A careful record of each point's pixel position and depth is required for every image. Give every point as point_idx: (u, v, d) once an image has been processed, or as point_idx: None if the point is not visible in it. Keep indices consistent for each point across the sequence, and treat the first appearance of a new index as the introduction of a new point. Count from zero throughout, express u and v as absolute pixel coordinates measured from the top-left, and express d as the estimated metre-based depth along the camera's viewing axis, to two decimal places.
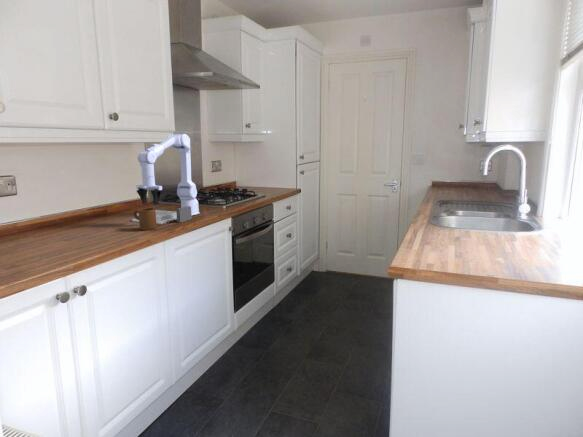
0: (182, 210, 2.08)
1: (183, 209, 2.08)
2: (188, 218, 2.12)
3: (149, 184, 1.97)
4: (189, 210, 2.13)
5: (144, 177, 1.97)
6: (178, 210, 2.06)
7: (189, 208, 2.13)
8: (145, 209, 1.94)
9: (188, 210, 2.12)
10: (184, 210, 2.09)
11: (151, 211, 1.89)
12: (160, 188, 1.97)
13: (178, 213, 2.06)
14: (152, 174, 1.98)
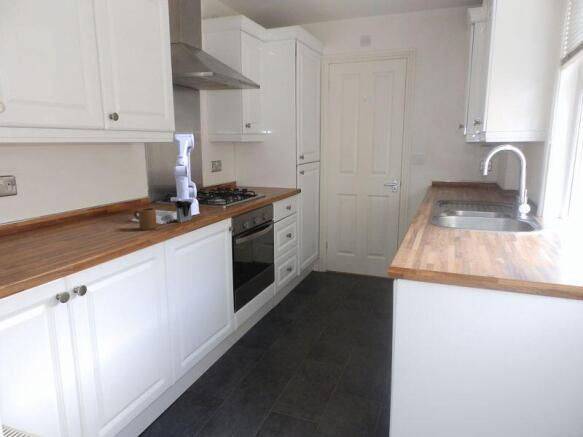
0: (182, 210, 2.08)
1: None
2: (188, 218, 2.12)
3: (183, 197, 2.06)
4: (189, 210, 2.13)
5: (179, 190, 2.06)
6: (178, 210, 2.06)
7: None
8: (145, 209, 1.94)
9: None
10: None
11: (151, 211, 1.89)
12: (194, 201, 2.06)
13: (178, 213, 2.06)
14: (188, 187, 2.08)
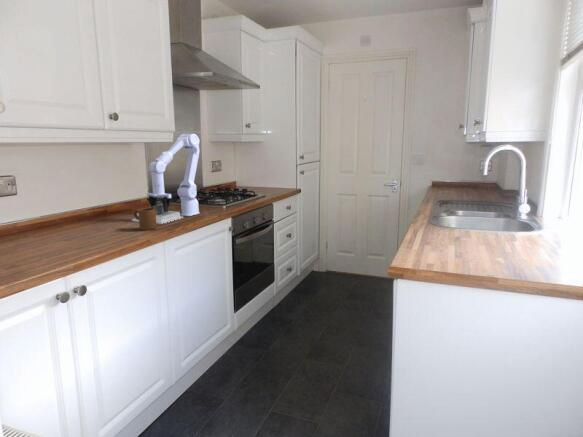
0: (158, 207, 2.11)
1: (159, 206, 2.12)
2: None
3: (159, 192, 2.09)
4: None
5: (154, 186, 2.09)
6: (154, 207, 2.09)
7: None
8: (145, 209, 1.94)
9: None
10: (160, 207, 2.13)
11: (151, 211, 1.89)
12: (169, 196, 2.09)
13: None
14: (161, 183, 2.09)
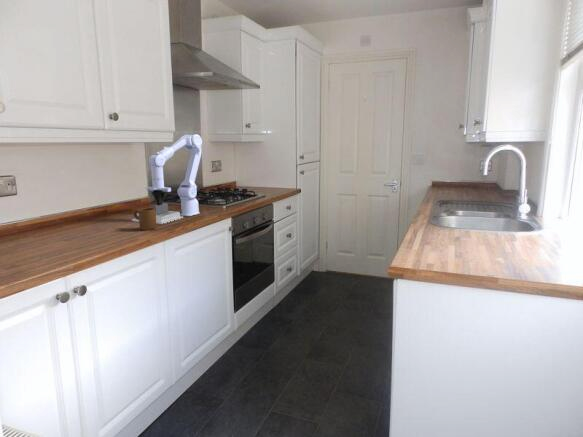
0: (158, 207, 2.11)
1: (159, 206, 2.12)
2: None
3: (158, 186, 2.09)
4: (166, 207, 2.16)
5: (154, 179, 2.08)
6: (154, 207, 2.09)
7: (166, 205, 2.16)
8: (145, 209, 1.94)
9: (165, 207, 2.16)
10: (160, 207, 2.13)
11: (151, 211, 1.89)
12: (169, 190, 2.08)
13: None
14: (160, 177, 2.09)
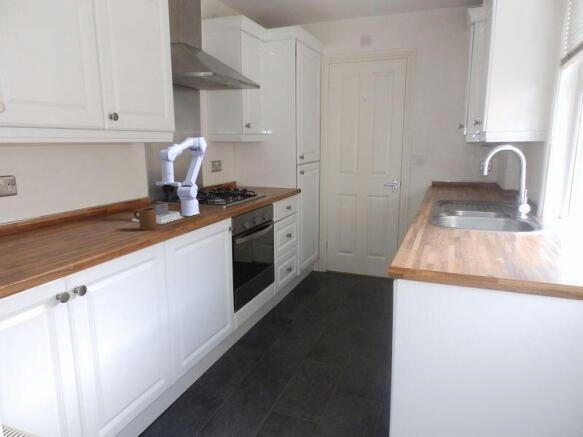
0: (158, 207, 2.11)
1: (159, 206, 2.12)
2: None
3: (168, 180, 2.09)
4: (166, 207, 2.16)
5: (164, 174, 2.09)
6: (154, 207, 2.09)
7: (166, 205, 2.16)
8: (145, 209, 1.94)
9: (165, 207, 2.16)
10: (160, 207, 2.13)
11: (151, 211, 1.89)
12: (179, 184, 2.09)
13: None
14: (171, 171, 2.10)
